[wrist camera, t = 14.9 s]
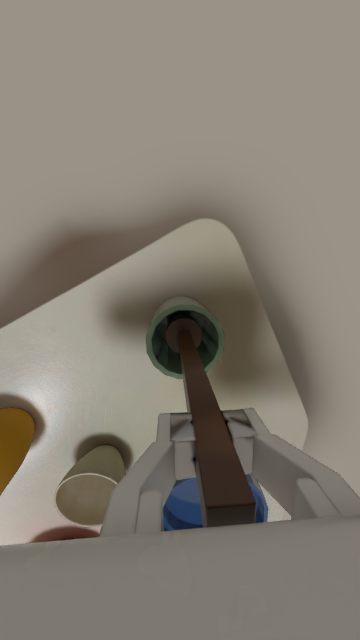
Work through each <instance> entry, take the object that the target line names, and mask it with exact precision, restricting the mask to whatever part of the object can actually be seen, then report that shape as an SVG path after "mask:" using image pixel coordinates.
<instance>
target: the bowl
mask: <svg viewBox="0 0 360 640" xmlns="http://www.w3.org/2000/svg"><path fill="white" fill-rule="evenodd" d="M245 475H246V477H247V480H248V482H249V485H250V488H251V490H252V493H253V495H254V498H255V500H256V517H255V523H262V522H267V518H268V506H267V503H266V500H265V497H264V495H263V492H262V490H261V488H260V485H259V483H258V481H257V480H256V479H255V478H254V477H253V476H252V474H245ZM163 521H164V531H172V530H183V529H194V528H203V523H202V515H201V508H200V501H199V493H198V486H197V478H189V479H180V480H176V482H175V484H174V486H173V488H172V490H171V492H170V494H169V497H168V499H167V501H166V503H165V505H164V507H163Z"/></svg>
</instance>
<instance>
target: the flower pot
mask: <svg viewBox="0 0 360 640" xmlns="http://www.w3.org/2000/svg"><path fill="white" fill-rule="evenodd" d="M125 475H126V473H125V467H124V463H123V460H122V457H121V455H120V453H119V451H118V450H117V449H116V448H115V447H113V446H110V445H101V446H98V447H96V448H95V449H93V450H91V451H90V452H89V453H87V454H86V455H85V456H84V457H82V458H81V459H80V460H79V461H78V462H77V463H76V464H75V465H74V466H73V467H72V468H71V470H70V471H69V472H68V473H67V474H66V476H65V477H64V478H63V480H62V481H61V483H60V484H59V486H58V487H57V489H56V491H55V494H54V505H55V508H56V510H57V511H58V513H59V514H60V515H61V516H62V517H63V518H64V519H66V520H67V521H69V522H70V523H73V524H75V525H78V526H83V527H99V526H102V524H103V520H104V517H105V513H106V510H107V506H108V502H109V499H110V495H111V492H112V490H113V489H114V488H115V487H116V486H117V484H118V483H119V482H120V481H121V480H122V479H123V477H124V476H125Z"/></svg>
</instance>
